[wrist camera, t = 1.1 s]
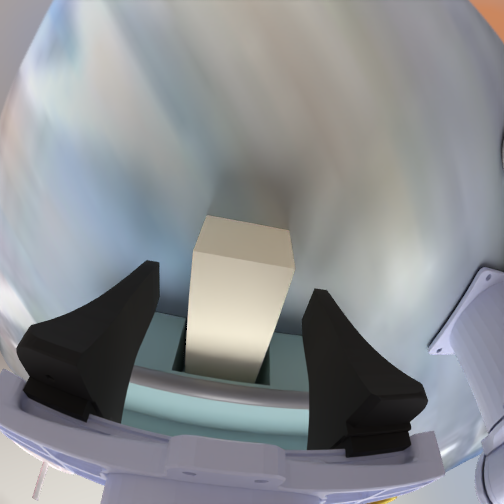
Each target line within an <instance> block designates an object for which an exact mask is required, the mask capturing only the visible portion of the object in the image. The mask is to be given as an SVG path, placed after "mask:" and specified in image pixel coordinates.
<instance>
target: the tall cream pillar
mask: <svg viewBox="0 0 504 504" xmlns="http://www.w3.org/2000/svg"><path fill="white" fill-rule="evenodd" d="M294 272H295V263H294V257H293V250H292V244H291V238H290V232H289V230H285V229H280V228H275V227H270V226H264V225H259V224H254V223H248V222H243V221H237V220H232V219H226V218H221V217H215V216H209V215H207V216H206V218H205V221H204V223H203V226H202V229H201V231H200V234H199V236H198V239H197V242H196V244H195V247H194V250H193V257H192V268H191V279H190V292H189V305H188V320H187V337H186V357H185V373H188V374H193V375H199V376H205V377H211V378H217V379H223V380H230V381H237V382H244V383H252V384H254V383H255V381H256V378H257V375H258V373H259V370H260V367H261V365H262V362H263V360H264V357H265V354H266V351H267V349H268V346H269V343H270V341H271V338H272V335H273V332H274V330H275V327H276V324H277V321H278V318H279V315H280V313H281V310H282V307H283V304H284V301H285V298H286V295H287V292H288V290H289V287H290V284H291V281H292V278H293V275H294Z"/></svg>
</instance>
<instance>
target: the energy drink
mask: <svg viewBox="0 0 504 504" xmlns="http://www.w3.org/2000/svg"><path fill="white" fill-rule="evenodd" d="M502 163H503V169H504V139H503V145H502Z"/></svg>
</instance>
